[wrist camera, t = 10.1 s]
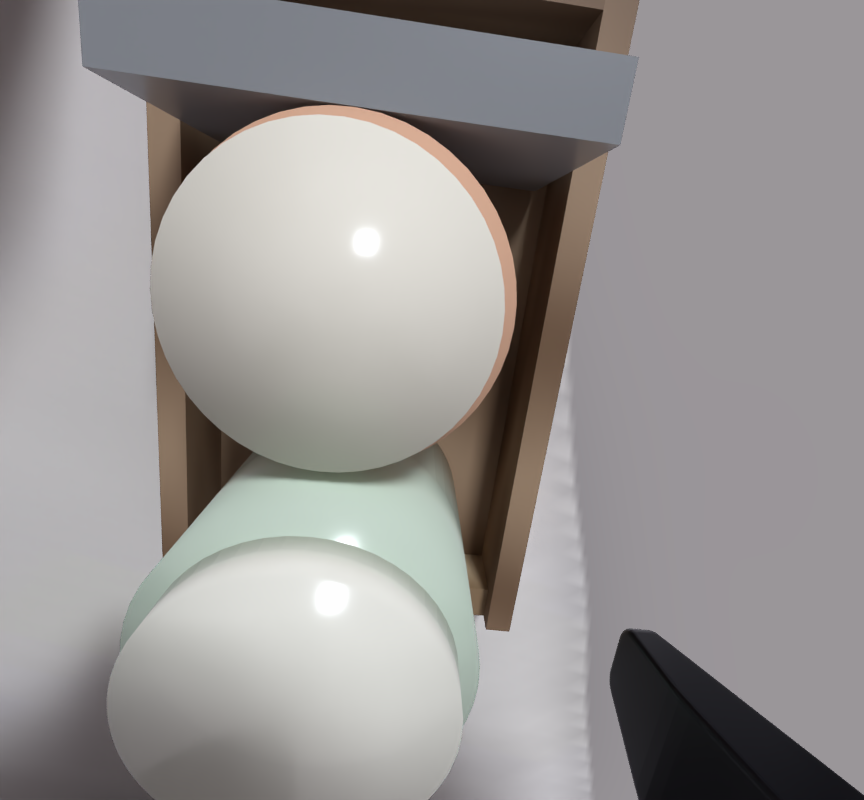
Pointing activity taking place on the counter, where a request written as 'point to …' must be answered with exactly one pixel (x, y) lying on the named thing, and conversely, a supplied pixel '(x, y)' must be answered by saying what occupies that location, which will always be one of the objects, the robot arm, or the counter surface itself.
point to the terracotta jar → (333, 289)
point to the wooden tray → (533, 330)
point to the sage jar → (303, 640)
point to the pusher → (367, 78)
